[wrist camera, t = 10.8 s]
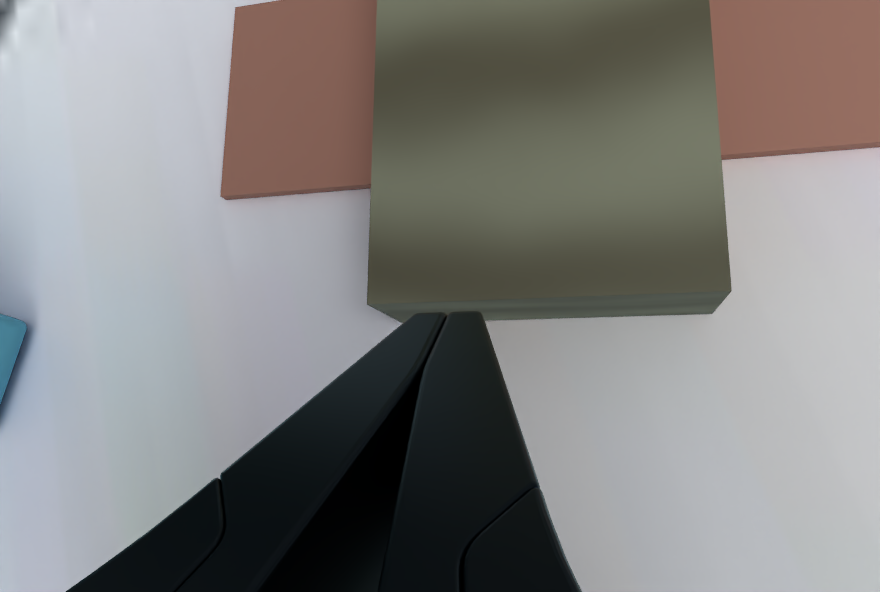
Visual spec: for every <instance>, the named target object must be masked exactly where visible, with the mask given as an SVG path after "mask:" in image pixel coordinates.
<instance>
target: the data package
mask: <svg viewBox="0 0 880 592" xmlns="http://www.w3.org/2000/svg"><path fill="white" fill-rule="evenodd" d="M26 329H27V326H26V324H25V323H24V322H23V321H21V320H18V319H15V318H12V317H9V316H6V315H2V314H0V404H1V401H2V398H3V395H4V392H5V389H6V386H7V384H8V381H9V378H10V375H11V372H12V369H13V367H14V364H15V361H16V358H17V355H18V352H19V349H20V347H21V344H22V341H23V338H24V335H25V332H26Z"/></svg>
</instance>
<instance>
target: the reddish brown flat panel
mask: <svg viewBox="0 0 880 592" xmlns="http://www.w3.org/2000/svg"><path fill="white" fill-rule="evenodd" d="M709 4H710V17H711V30H712V43H713V56H714V69H715V82H716V95H717V108H718V121H719V135H720V148H721V160H724V159H736V158H748V157H761V156H773V155H785V154H798V153H810V152H823V151H835V150H847V149H860V148H872V147H880V0H709ZM376 17H377V0H279V1H273V2H267V3H260V4H254V5H248V6H241V7H235V20H234V33H233V45H232V58H231V70H230V83H229V96H228V108H227V121H226V134H225V146H224V159H223V171H222V184H221V197H223V198H224V199H226V200H230V199H242V198H254V197H267V196H279V195H291V194H304V193H316V192H328V191H341V190H353V189H365V188H371V169H372V138H373V108H374V78H375V47H376Z"/></svg>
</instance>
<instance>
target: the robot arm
mask: <svg viewBox="0 0 880 592" xmlns="http://www.w3.org/2000/svg"><path fill="white" fill-rule="evenodd" d="M220 479H221V480H220ZM220 479H219V478H215V479H213V480H212V481H211V482H210V483H208V484H207V485H206V486H205V487H204V488H202V489H201V490H200V491H199V492H198V493H196V494H195V495H194V496H193V497H191V498H190V499H189V500H188V501H186V502H185V503H184V504H183V505H181V506H180V507H179V508H178V509H176V510H175V511H174V512H173V513H171V514H170V515H169V516H168V517H166V518H165V519H164V520H162V521H161V522H160V523H159V524H157V525H156V526H155V527H154V528H152V529H151V530H150V531H149V532H147V533H146V534H145V535H143V536H142V537H141V538H139V539H138V540H136V541H135V542H134V543H132V544H131V545H130V546H128V547H127V548H126V549H124V550H123V551H121V552H120V553H119V554H117V555H116V556H115V557H113V558H112V559H111V560H109V561H108V562H107V563H105V564H104V565H102V566H101V567H100V568H98V569H97V570H96V571H94V572H93V573H91V574H90V575H89V576H87V577H86V578H84V579H83V580H81V581H80V582H79V583H77V584H76V585H74V586H73V587H72V588H70V589H69V590H67V591H66V592H582V591H581V589H580V587H579V585H578V583H577V581H576V578H575V576H574V574H573V572H572V570H571V568H570V566H569V564H568V561H567V559H566V557H565V554H564V552H563V549H562V546H561V544H560V541H559V539H558V536H557V533H556V531H555V528H554V526H553V523H552V520H551V518H550V514H549V511H548V508H547V505H546V502H545V499H544V496H543V493H542V491H541V490H540V486H539V483H538V480H537V477H536V474H535V471H534V468H533V465H532V462H531V459H530V456H529V453H528V450H527V447H526V444H525V441H524V438H523V435H522V432H521V429H520V426H519V423H518V420H517V417H516V414H515V411H514V408H513V405H512V402H511V399H510V396H509V393H508V390H507V387H506V384H505V381H504V378H503V375H502V372H501V369H500V366H499V363H498V360H497V357H496V354H495V351H494V348H493V345H492V342H491V339H490V336H489V333H488V330H487V327H486V324H485V321H484V318H483V315H482V313H481V312H479V311H457V312H451V313H449V314H448V315H447V314H446V313H445V312H427V313H416V314H414V315H413V316H411V317H410V318H409V319H408V320H407V321H405V322H404V323H403V324H402V325H400V326H399V327H398V328H397V329H396V330H394V331H393V332H392V333H391V334H390V335H388V336H387V337H386V338H385V339H383V340H382V341H381V342H380V343H379V344H377V345H376V346H375V347H374V348H373V349H371V350H370V351H369V352H368V353H366V354H365V355H364V356H363V357H362V358H360V359H359V360H358V361H357V362H356V363H354V364H353V365H352V366H351V367H349V368H348V369H347V370H346V371H345V372H343V373H342V374H341V375H340V376H339V377H337V378H336V379H335V380H334V381H333V382H331V383H330V384H329V385H328V386H326V387H325V388H324V389H323V390H322V391H320V392H319V393H318V394H317V395H316V396H314V397H313V398H312V399H311V400H309V401H308V402H307V403H306V404H305V405H303V406H302V407H301V408H300V409H299V410H297V411H296V412H295V413H294V414H292V415H291V416H290V417H289V418H288V419H286V420H285V421H284V422H283V423H282V424H280V425H279V426H278V427H277V428H275V429H274V430H273V431H272V432H271V433H269V434H268V435H267V436H266V437H265V438H263V439H262V440H261V441H260V442H259V443H257V444H256V445H255V446H254V447H252V448H251V449H250V450H249V451H248V452H246V453H245V454H244V455H243V456H242V457H240V458H239V459H238V460H237V461H235V462H234V463H233V464H232V465H231V466H229V467H228V468H227V469H226V470H224V471H223V472H222V473H221V475H220Z"/></svg>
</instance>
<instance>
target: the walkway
mask: <svg viewBox="0 0 880 592" xmlns="http://www.w3.org/2000/svg"><path fill="white" fill-rule="evenodd" d="M730 292H731V278H730V265H729V252H728V239H727V226H726V213H725V200H724V187H723V174H722V161H721V148H720V135H719V121H718V108H717V95H716V82H715V69H714V56H713V43H712V30H711V17H710V4H709V0H377V17H376V47H375V78H374V108H373V138H372V169H371V199H370V230H369V260H368V291H367V305H369V306H371V307H373V308H375V309H377V310H379V311H381V312H383V313H384V314H386V315H388V316H390V317H392V318H394V319H396V320H398V321H400V322H402V323H404V322H405V321H407V320H408V319H409V318H410V317H411V316H413V315H414V314H416V313H427V312H445V313H446V314H447V315H448V314H449V313H451V312H457V311H479V312H481V313H482V315H483V318H484V320H517V319H551V318H585V317H619V316H653V315H687V314H712V313H713V312H714V311H715V310H716V309H717V308H718V306H719V305H720V304H721V303H722V302H723V300H724V299H725V298H726V297H727V296H728V294H729V293H730Z"/></svg>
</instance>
